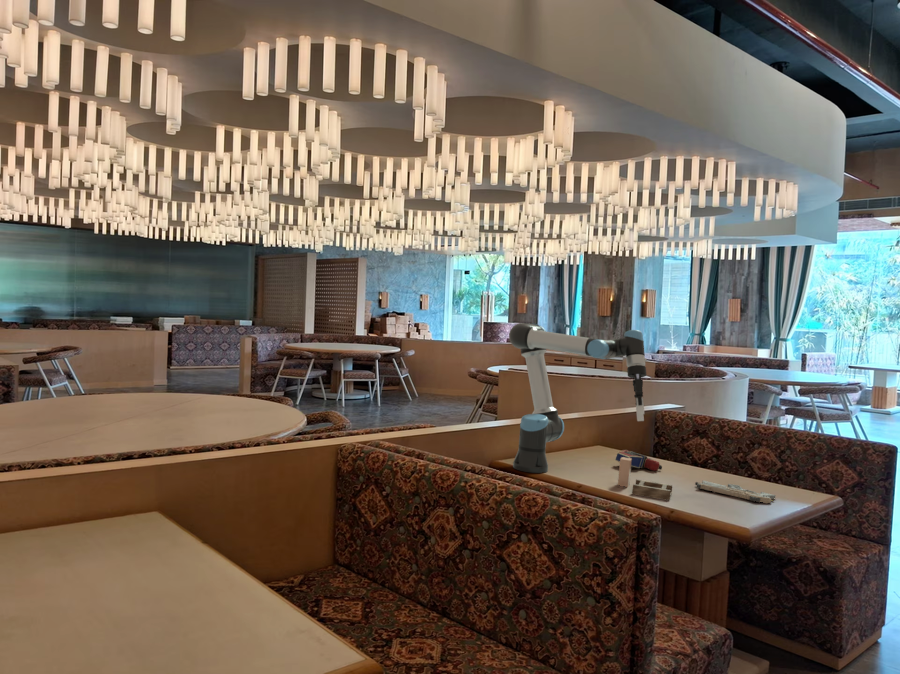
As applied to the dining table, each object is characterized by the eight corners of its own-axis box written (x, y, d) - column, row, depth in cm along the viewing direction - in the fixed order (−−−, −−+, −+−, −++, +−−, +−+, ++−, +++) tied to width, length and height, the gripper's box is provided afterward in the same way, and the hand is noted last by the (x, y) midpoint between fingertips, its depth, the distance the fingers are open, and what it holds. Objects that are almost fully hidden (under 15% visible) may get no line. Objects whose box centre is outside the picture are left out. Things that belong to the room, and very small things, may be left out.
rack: (632, 494, 264) (632, 485, 264) (635, 487, 275) (636, 479, 275) (669, 500, 259) (670, 491, 259) (671, 493, 270) (672, 484, 270)
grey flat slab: (707, 484, 297) (690, 488, 281) (708, 477, 297) (691, 481, 281) (780, 501, 278) (767, 507, 262) (781, 494, 278) (768, 499, 262)
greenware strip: (617, 485, 276) (620, 459, 276) (619, 483, 281) (621, 457, 281) (627, 487, 275) (630, 460, 275) (629, 484, 280) (631, 458, 279)
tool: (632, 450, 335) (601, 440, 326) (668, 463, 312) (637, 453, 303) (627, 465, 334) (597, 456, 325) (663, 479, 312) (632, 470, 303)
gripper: (646, 357, 267) (651, 410, 260) (645, 374, 290) (649, 423, 283) (626, 359, 269) (631, 411, 262) (627, 375, 292) (631, 424, 285)
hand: (640, 417), depth 272 cm, fingers open, 13 cm apart
